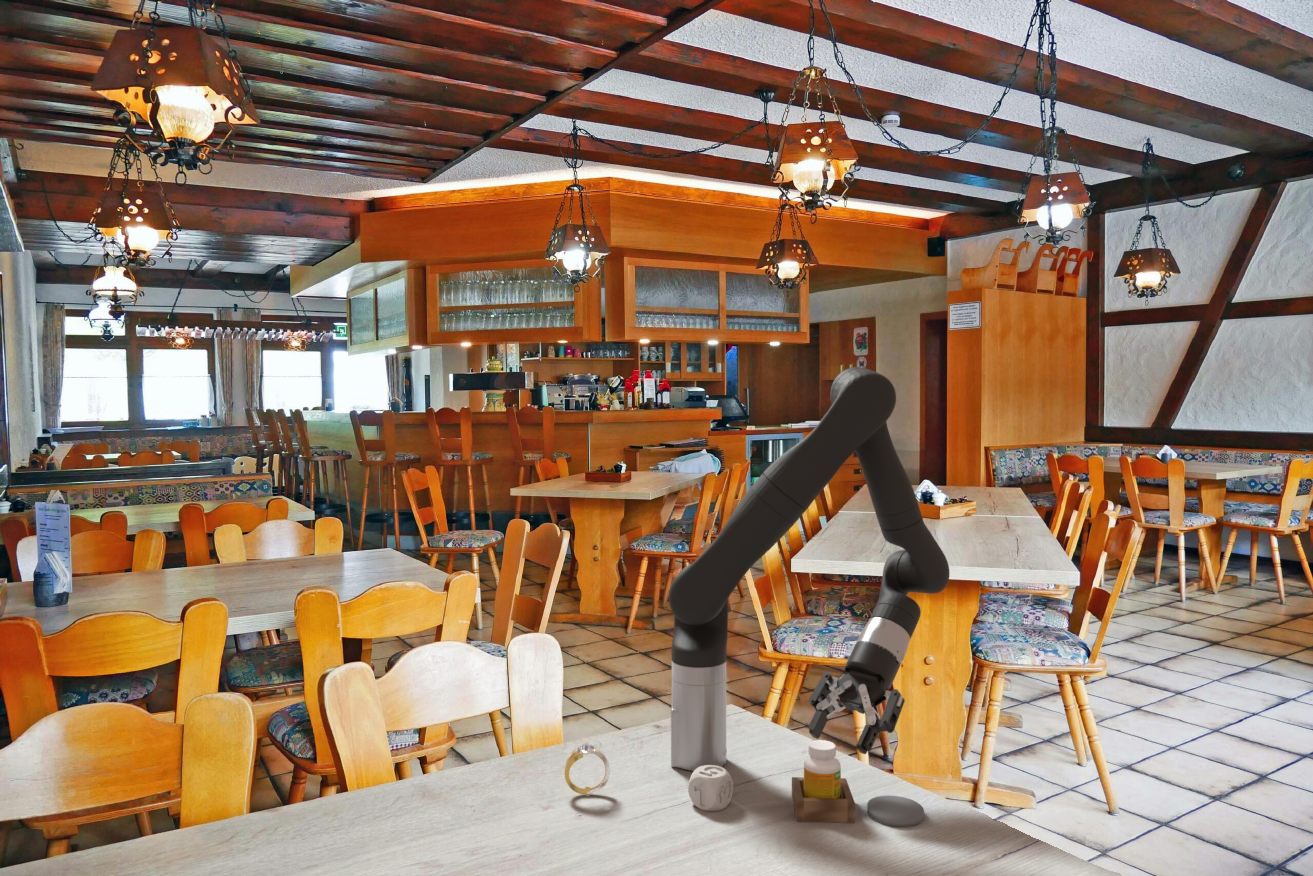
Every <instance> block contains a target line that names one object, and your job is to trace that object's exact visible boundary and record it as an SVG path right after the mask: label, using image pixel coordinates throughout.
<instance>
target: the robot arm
mask: <svg viewBox="0 0 1313 876" xmlns="http://www.w3.org/2000/svg"><path fill="white" fill-rule="evenodd" d="M829 391H830V392H829V394H830V395H829V397H830V403H831V406H830V407H829V408H828V410H827V412H826V413H824V415H823V417H822V418H821V420H819V422H818V424H817V425H815V427H814V428H813V429H812V430H811V431H810V432H809V434H807V435H806V436H805V437H803V439H802V440H800V441H799V442H798V443H796V444H795V445H794V446H792V447H790V448H789V449H788V450H786V451H785V452H784V453H783V454H781V455H780V456H779V457H778V458H776V459H775V460H774V461H773V462H772V463H770V465H769V466H768V467H767V468H765V470H764V471H763V473H762V474H761V475H760V476H758V478H757V479H756V481H755V482H754V483H753V484H752V485H751V487H750V488H749V489H748V490H747V492H746V493H745V494H744V496H743V497H742V498H741V500H740V501H739V503H738V504H737V506H736V507H735V509H733V511H732V512H731V515H730V516H729V518H728V519H727V521H726V523H725V525H723V528H722V529H721V531H720V532H719V533H718V535H717V536H716V538H715V539H714V540H713V541H712V543H711V544H710V545H709V546H708V547H707V548H706V549H705V550H704V551H703V552H702V553H701V554H700V555H699V556H698V557H697V558H696V559H695V560H694V561H693V562H692V563H690V564H688V565H686V566H684V568H682V569H680V571H679V572H678V573H677V575H676V576H675V578H674V579H673V581H672V582H671V585H670V588H669V592H668V603H669V607H670V610H671V612H672V614H673V617H674V618H673V619H674V621H673V623H674V624H673V633H672V634H673V635H672V640H671V641H672V642H671V706H670V707H671V708H670V767H672V768H680V769H682V770H686V771H692V772H694V770H695V769H696V768H698V767H700V766H704V765H716V766H720V767H723V766H725V765H726V763H727V752H728V751H727V648H728V646H727V645H728V634H729V633H728V623H729V621H728V620H729V618H728V617H729V615H728V613H729V598H730V596H731V595H732V593H733V592H734V590H735V589H736V588H737V586H738V585H739V583H740V582H741V580H742V579H743V577H744V576H745V575H746V574H747V572H748V571H749V570H750V569H751V568H752V567H753V566H754V565H755V564H756V563H757V562H758V561H759V560H760V559H761V558H762V557H763V556H764V555H766V554H767V552H769V551H770V550H772V548H773V547H774V545H777V543H778V542H779V541H780V540H781V539H782V538H783V536H785V534H787V532H788V531H790V530H791V528H792V527H793V526H794V525H795V524H797V523H796V522H797V521H798V520H799V519H800V518H801V517H802V516H803V514H804V513H805V512H806V511H807V510H808V508H809V507H810V506H811V505H812V503H813V502H814V501H815V499H817V497H818V496H819V495H820V493H821V492H822V491H823V490H824V489H825V487H826V486H827V485H828V484H829V483H830V482H831V480H832V479H833V478H834V476H835V475H836V474H837V472H838V471H839V470H840V469H841V467H842V466H843V465H844V464H845V462H846V461H847V460H849V458H850V457H851V456H852V455H853V453H854V452H855V453H856V457H857V459H858V462H859V464H860V467H861V471H862V474H863V476H864V479H865V480H864V481H865V482H866V485H867V489H868V493H869V496H870V499H871V503H872V506H873V509H874V510H873V511H874V512H875V515H876V519H877V521H878V525H879V528H880V532H881V534H882V536H883V538H884V540H885V541H886V542H887V543H889V544H891V545H893V546H898V547H900V548H902V549H901V550H900V549H899V550H896V551H894V552H893V553H892V554H891V555H889V557H888V558H887V559H886V561H885V563H884V566H883V569H882V571H883V572H882V577H881V582H880V583H881V584H880V589H879V595H878V601H877V603H876V605H875V607H874V609H873V611H872V613H871V615H870V617H869V619H868V621H867V622H866V624H865V625H864V627H863V629H862V630H861V632H860V634H859V636H858V639H857V640H856V643H855V645H854V647H853V649H852V651H851V653H850V655H849V657H848V659H847V661H846V663H845V667H844V671H843V673H842V675H841V676H840V677H836V676H833V675H832V674H831V673H830V671H825V672H823V674H822V676H821V677H820V679H819V680H818V683H817V684H816V686H815V688H814V689H813V691H812V693H811V695H810V696H809V698H808V703H809V704H810V706H812V708H813V709H814V710H815V712H814V714H813V716H812V718H811V720H810V722H809V725H808V733H809V734H810V735H811V737H812V738H814V739H817V740H820V737H821V735H822V733H823V731H824V729H825V727H826V724H827V722H828V720H829V717H830V716H832V715H833V714H835V713H840V712H842V711H843V710H844V709H846V710H848V711H856V712H858V713H859V714H862V715H865V714H866V719H867V723H868V724H865V725H864V727H863V729H862V731H861V734H860V736H859V738H858V741H857V743H856V746H855V748H856V749H857V751H858V752H859V753H860V754H863V755H866V754H867V753H868V752H870V751H871V750H872V749H873V746H874V744H875V743H876V740H877V737H878V736H879V734H880V733H882V732H887V733H888V734H891V733H893V732H894V731H895V729H896V725H897V724H898V720H899V718H900V715H901V712H902V710H903V707H904V704H905V702H906V701H905V698H904V697H903V695H902V694H901V692H900V691H899V690H898V689H897V688H894V689H892V690H890V689H891V687H892V685H893V682H894V681H895V679H896V677H897V674H898V672H899V670H900V667H901V665H902V663H903V661H904V658H905V656H906V653H907V652H908V647H909V644H910V641H911V638H912V637H913V634H914V632H915V629H916V628H917V625H918V623H919V620H920V617H921V615H922V614H921V612H922V611H921V607H920V606H919V604H918V603H917V601H915V600H914V599H913V598H912V597H910V596H908V594H909V593H917V594H920V593H921V594H929V595H930V594H933V595H934V594H939V593H941V592H942V591H944V590H945V589H946V587H947V586H948V583H949V580H950V566H949V562H948V559H947V557H946V555H945V553H944V551H943V550H942V549H941V547H940V546H939V545H940V544H938V542H937V541H936V539H935V537H934V536H933V534H932V532H931V531H930V529H929V528H928V527H927V525H926V524H925V522H924V518H923V514H922V512H921V509H920V506H919V503H918V502H919V501H918V499H917V496H916V493H915V491H914V488H913V485H912V483H911V481H910V479H909V476H908V474H907V473H906V470H905V468H904V466H903V464H902V462H901V460H900V458H899V455H898V454H897V451H896V448H895V446H894V443H893V440H892V438H891V435H890V431H889V427H888V423H887V421H888V420H889V419H890V417H891V416H892V414H893V412H894V410H895V406H896V402H897V394H896V393H897V392H896V390H895V387H894V385H893V383H892V381H890V379H888V378H887V376H884V375H883V374H881V373H879V372H877V371H874V370H872V369H868V368H867V367H866V368H865V367H860V366H858V367H857V366H855V367H849V368H847V369H844V370H843V371H841V372H840V373H839V374H837V376H836V377H835V379H834V380H833V382H832V384H831V388H830V390H829ZM837 699H839V701H837ZM883 702H886V705H885V708H884V709H883V713H882V715H880V711H879V708H878V706H879V705H881V704H883Z"/></svg>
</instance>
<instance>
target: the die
mask: <svg viewBox="0 0 1313 876" xmlns="http://www.w3.org/2000/svg"><path fill="white" fill-rule="evenodd" d="M687 786H688V787H687V792H688V795H689V798H690V799H689V800H691V803H692V804H693V805H694V806H695V807H696V808H698V809H699V810H702V811H705V812H706V811H707V812H716V811H721V810H723V809H725V808H726V807H727V806H728V805H729V804H730V803H731V802H730V801H731V799H732V796H733V793H734V792H733V791H734V781H733V778H732V776H731V774H730V773H729V771H727V769H725V768H724V767H723V766H722V767H720V766H716V765H704V766H700V767H698V768H696V769H695V770H694V771H692V774H691V775H690V778H689V781H688V785H687Z"/></svg>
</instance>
